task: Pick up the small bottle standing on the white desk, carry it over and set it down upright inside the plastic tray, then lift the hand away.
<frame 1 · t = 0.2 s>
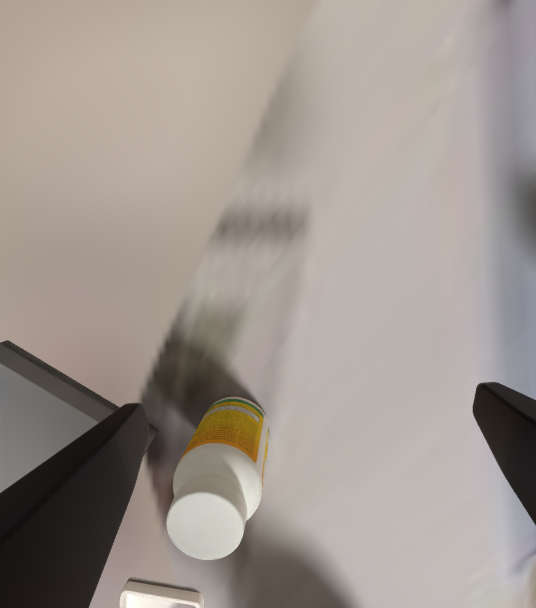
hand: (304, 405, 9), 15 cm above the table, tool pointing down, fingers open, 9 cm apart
supplement bottle: (236, 423, 26), on the table
tray: (39, 468, 28), on the table
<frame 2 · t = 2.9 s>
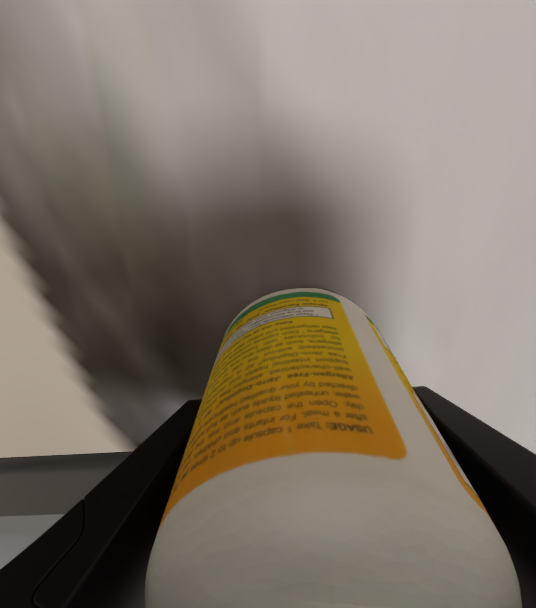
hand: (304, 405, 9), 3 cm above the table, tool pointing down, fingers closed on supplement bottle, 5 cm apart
supplement bottle: (298, 352, 11), on the table, touching gripper
tray: (83, 583, 17), on the table
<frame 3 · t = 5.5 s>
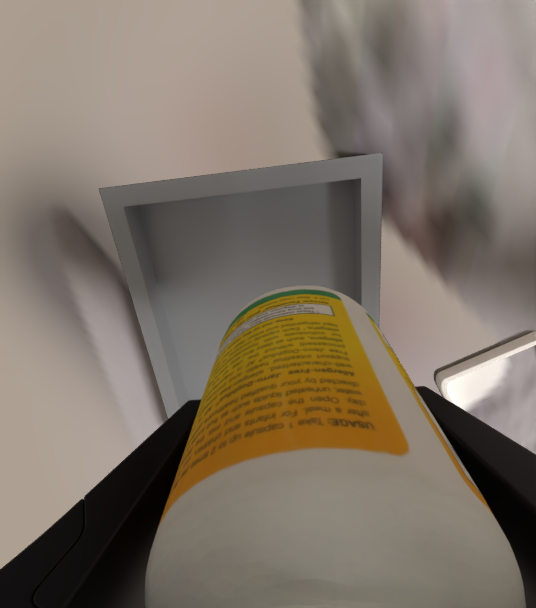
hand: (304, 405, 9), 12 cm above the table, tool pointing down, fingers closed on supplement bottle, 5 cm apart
phone case: (509, 419, 25), on the table
supplement bottle: (298, 350, 11), point 10 cm above the table, touching gripper
tray: (261, 316, 21), on the table
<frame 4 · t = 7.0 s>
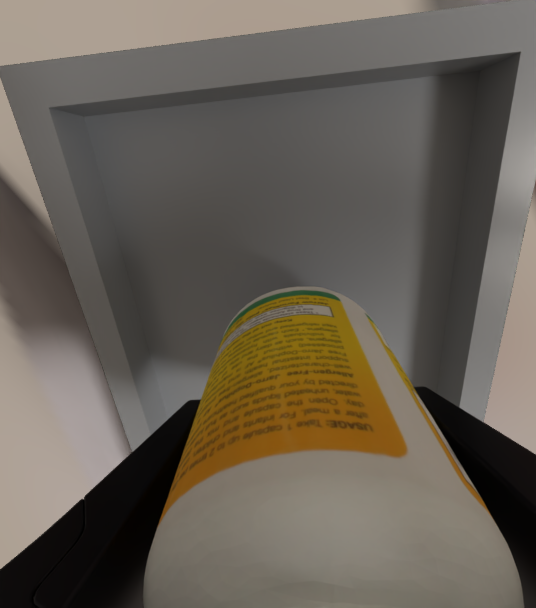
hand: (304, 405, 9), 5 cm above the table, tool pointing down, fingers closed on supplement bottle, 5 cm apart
supplement bottle: (298, 351, 11), point 3 cm above the table, touching gripper
tray: (291, 320, 14), on the table
when the fingers open (4 cm above the table, at t = 8.0 s): supplement bottle drops 1 cm, resting on tray.
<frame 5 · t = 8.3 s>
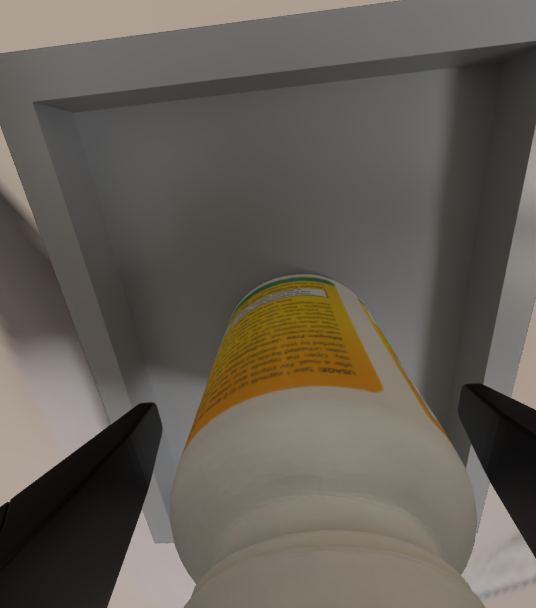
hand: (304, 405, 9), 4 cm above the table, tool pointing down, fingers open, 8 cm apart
supplement bottle: (297, 335, 12), point 1 cm above the table, touching tray
tray: (295, 329, 13), on the table
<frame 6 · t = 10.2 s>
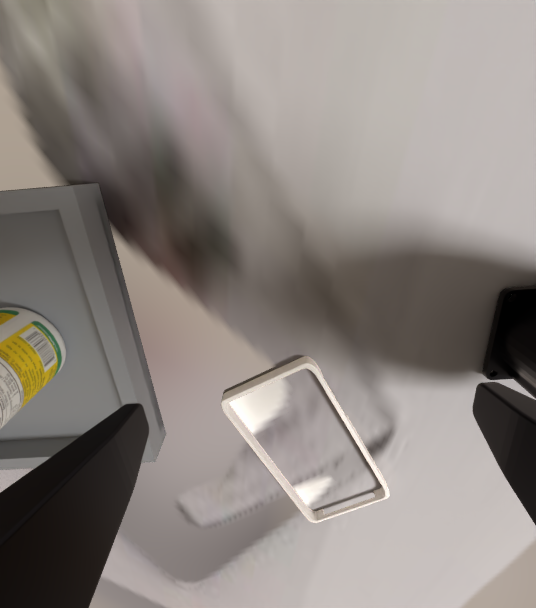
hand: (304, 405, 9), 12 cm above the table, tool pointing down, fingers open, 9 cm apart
phone case: (309, 438, 26), on the table
supplement bottle: (27, 340, 21), point 1 cm above the table, touching tray
tray: (33, 336, 21), on the table
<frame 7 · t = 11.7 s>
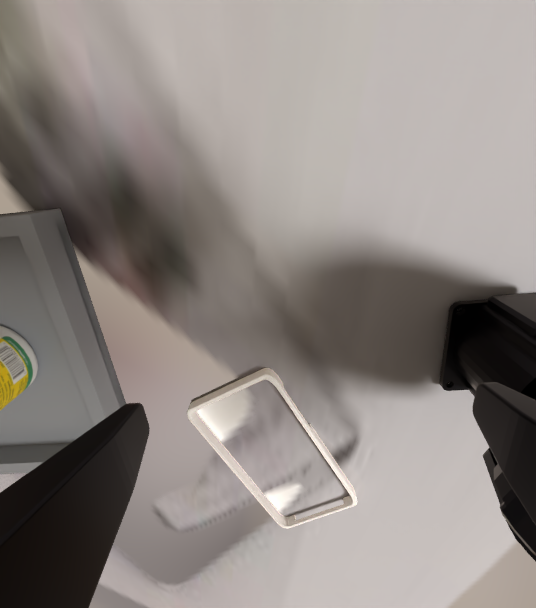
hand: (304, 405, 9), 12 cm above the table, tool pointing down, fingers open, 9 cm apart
phone case: (277, 446, 26), on the table
supplement bottle: (3, 354, 22), point 1 cm above the table, touching tray
tray: (9, 350, 23), on the table
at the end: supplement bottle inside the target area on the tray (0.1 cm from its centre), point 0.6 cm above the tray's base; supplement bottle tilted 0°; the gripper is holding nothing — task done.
